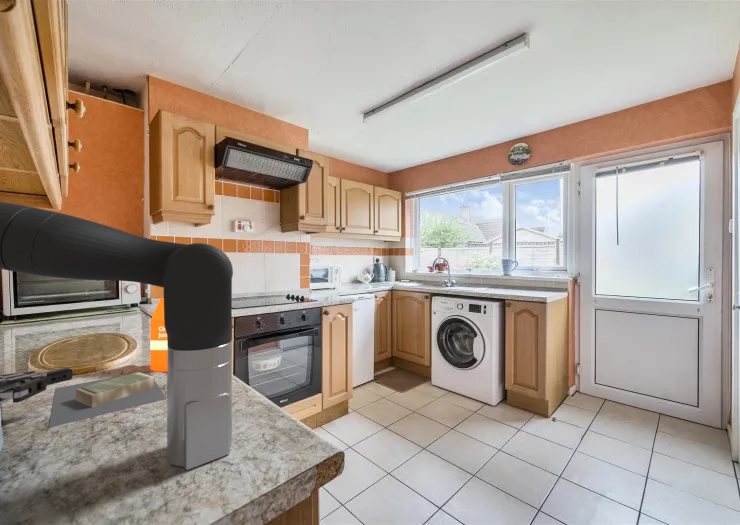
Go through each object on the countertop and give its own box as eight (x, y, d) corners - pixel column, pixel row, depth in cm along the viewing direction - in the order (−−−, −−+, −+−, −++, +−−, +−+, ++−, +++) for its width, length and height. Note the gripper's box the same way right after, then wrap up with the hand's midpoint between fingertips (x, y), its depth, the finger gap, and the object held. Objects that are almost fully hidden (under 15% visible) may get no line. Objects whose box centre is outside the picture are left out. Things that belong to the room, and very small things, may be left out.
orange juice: (181, 371, 89) (181, 299, 89) (149, 371, 89) (150, 299, 89) (196, 362, 97) (197, 296, 97) (167, 362, 97) (168, 296, 97)
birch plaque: (92, 394, 65) (154, 376, 75) (76, 388, 68) (138, 371, 79) (92, 407, 65) (154, 387, 75) (76, 400, 68) (138, 382, 79)
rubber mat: (166, 402, 69) (166, 398, 69) (48, 431, 57) (48, 427, 57) (148, 373, 87) (148, 370, 87) (55, 391, 75) (55, 388, 75)
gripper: (-64, 390, 46) (86, 359, 62) (-84, 375, 52) (57, 350, 68) (-65, 442, 46) (85, 398, 62) (-85, 420, 52) (56, 385, 68)
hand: (70, 373), depth 65 cm, fingers closed
